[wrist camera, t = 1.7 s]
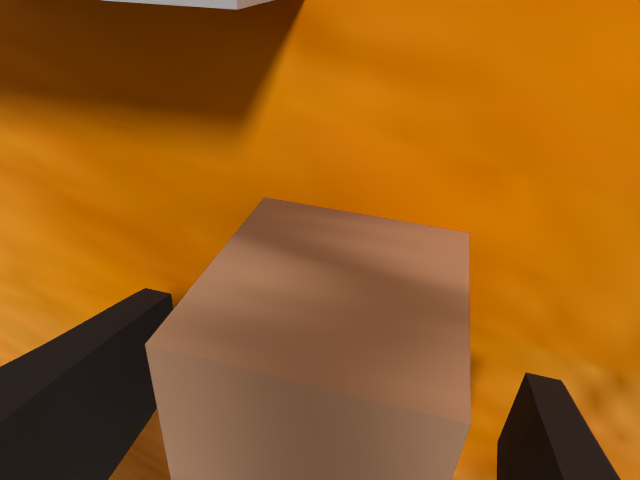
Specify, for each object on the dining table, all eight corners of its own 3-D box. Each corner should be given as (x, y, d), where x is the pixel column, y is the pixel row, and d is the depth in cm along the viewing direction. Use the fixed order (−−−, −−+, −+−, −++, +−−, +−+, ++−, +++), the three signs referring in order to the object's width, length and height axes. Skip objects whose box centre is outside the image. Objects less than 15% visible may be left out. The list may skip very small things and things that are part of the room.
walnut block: (266, 341, 13) (178, 515, 9) (265, 196, 11) (144, 344, 7) (430, 380, 13) (413, 590, 8) (468, 231, 10) (471, 423, 6)
